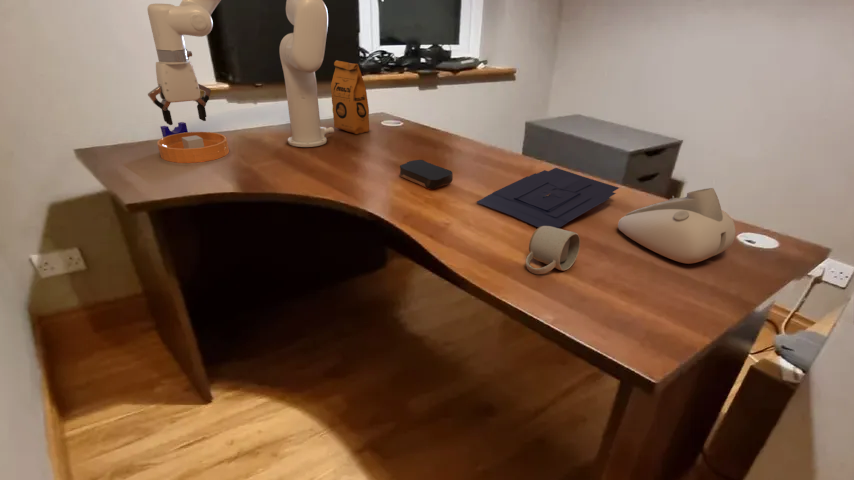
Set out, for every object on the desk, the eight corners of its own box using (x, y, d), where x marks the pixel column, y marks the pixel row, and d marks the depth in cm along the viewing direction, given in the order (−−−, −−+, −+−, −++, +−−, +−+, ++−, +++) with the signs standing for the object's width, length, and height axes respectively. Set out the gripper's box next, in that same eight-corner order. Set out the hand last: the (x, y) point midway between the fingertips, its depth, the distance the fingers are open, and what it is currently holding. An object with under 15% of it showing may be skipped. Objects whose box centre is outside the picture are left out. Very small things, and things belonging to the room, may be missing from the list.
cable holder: (182, 133, 181) (179, 121, 179) (188, 135, 180) (185, 122, 177) (160, 138, 176) (157, 125, 173) (167, 140, 174) (164, 127, 172)
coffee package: (352, 136, 185) (348, 65, 172) (330, 129, 191) (324, 61, 179) (374, 131, 191) (371, 63, 178) (351, 124, 198) (347, 58, 185)
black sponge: (455, 186, 146) (456, 172, 144) (432, 192, 141) (432, 178, 139) (419, 170, 156) (419, 158, 154) (395, 176, 151) (395, 163, 149)
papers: (624, 199, 137) (626, 186, 135) (549, 243, 123) (551, 229, 120) (549, 175, 152) (550, 162, 150) (475, 211, 137) (474, 198, 135)
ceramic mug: (544, 251, 114) (549, 217, 109) (577, 263, 110) (584, 228, 105) (514, 268, 108) (518, 232, 103) (549, 282, 103) (554, 245, 99)
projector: (708, 230, 126) (729, 168, 117) (742, 276, 107) (770, 206, 99) (613, 223, 128) (627, 162, 119) (630, 267, 109) (648, 198, 100)
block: (199, 150, 164) (196, 135, 162) (205, 153, 162) (202, 138, 159) (185, 152, 162) (181, 137, 159) (191, 156, 159) (187, 140, 156)
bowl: (212, 143, 173) (209, 128, 170) (240, 157, 162) (237, 141, 159) (151, 153, 162) (147, 138, 159) (176, 169, 151) (172, 153, 148)
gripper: (198, 53, 154) (209, 116, 163) (134, 56, 144) (151, 123, 153) (209, 56, 149) (220, 121, 159) (144, 60, 139) (160, 128, 149)
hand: (186, 122), depth 156 cm, fingers open, 9 cm apart
